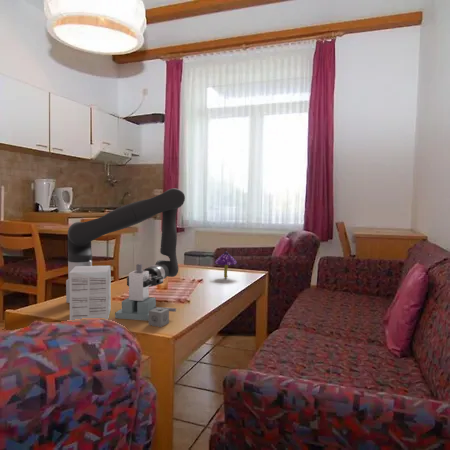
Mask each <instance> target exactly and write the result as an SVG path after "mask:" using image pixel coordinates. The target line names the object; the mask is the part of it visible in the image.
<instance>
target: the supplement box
mask: <svg viewBox="0 0 450 450" xmlns="http://www.w3.org/2000/svg"><path fill="white" fill-rule="evenodd" d="M111 267H112V266H111V265H92V266H75V267H74V268H73V269H72V270H71V271H70V272H69V285H70V303H69V321H70V320H75V319H82V318H105V319H108V320H109V317H110V313H111V307H112V305H111V303H112V302H111V299H112V298H111V297H112V296H111V294H112V293H111V284H112V283H111V279H112V278H111V277H112V275H111Z"/></svg>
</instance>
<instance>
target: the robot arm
mask: <svg viewBox="0 0 450 450" xmlns="http://www.w3.org/2000/svg"><path fill="white" fill-rule="evenodd" d="M185 200H186V197H185V193H184V191H182V190H181V189H179V188H169V189H166V190H165V191H164V192H163V193H161V194H158V195H156V196H154V197H150V198H147V199H142V200H138V201H133V202H132V203H128V204H125V205H123V206H120V207H117V208H115V209H114V210H111V211H110V212H108V213H106V214H105V215H102V216H100V217H97V218H95V219H90V220H89V221H88V220H87V221H77V222H74V223H72V224H71V225H70V226H69V228H68V230H67V258H68V259H67V263H68V264H67V265H68V266H67V267H68V269H67V271H68V272H67V273H68V275H67V276H68V279H67V278H66V281H65V285H66V287H65V290H66V291H65V292H66V293H65V298H66V301H65V303H66V304H67V303H68V304H70V285H69V272H70V271H71V270H72V269H73V268H74V267H75V266H93V253H92V242H93V241H94V240H96V239H98V238H101V237H103V236H106V235H107V234H111V233H114V232H118V231H121V230H124V229H127V228H130V227H132V226H135V225H138V224H140V223H142V222H144V221H146V220H149V219H150V218H152V217H154V216H156V215H159V214H161V213H162V222H161V223H162V224H161V225H162V226H161V238H160V249H159V252H160V254H161V255H162V256H165V257H166V256H167V257H168V259H169V260H164V259H163V260H162V259H161V260H157V261H156V262H155V265H151V266H148V267H145V268H144V269H142V271H149V279H148V280H145V281H144V282H143V287H147V286H149V288H152V287H156V286H159V285H161V284H164V279H166V278H169V277H170V278H173V277H176V276H177V275H178V273H179V264H178V259H177V245H178V243H177V242H178V232H177V224H176V223H177V222H176V219H177V212H178V209H180V208H181V207H182V206H183V204H184V203H185ZM126 286H127V287H129V275H128V276H127V277H126Z"/></svg>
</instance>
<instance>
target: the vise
mask: <svg viewBox="0 0 450 450" xmlns="http://www.w3.org/2000/svg"><path fill="white" fill-rule="evenodd" d="M142 271H143V264H141V263H138V264H136V273H142ZM157 307H158V308H164V309H169V312H176V311H177V308H175V307H174V308H173V307H160V306H157V297H150V296H149V297H148V298H147V299H145V300H144V301H135V300H129V297H127V298H125V299H123V300H121V308H120V309H119V310H117V311H116V312H115V314H114V316H115V319H122V320H123V319H124V320H136V321H146V322H147V321H148V322H149V311H150V310H152V309H154V308H157Z"/></svg>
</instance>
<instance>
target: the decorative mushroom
mask: <svg viewBox="0 0 450 450" xmlns="http://www.w3.org/2000/svg"><path fill="white" fill-rule="evenodd" d="M214 263H215V264H216V265H220V266H221V265H222V266H224V267H223V268H224V269H223V278H225V279H227V278H228V268H229V266H232V265H237V263H238V262H237V260H236V259H235V258H234V257H233V256H232V255H231V254H230V253H229V252H228V251H224V253H222V254H221V255H220V256H219V257H218V258H217V259H216V260H215V261H214Z"/></svg>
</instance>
